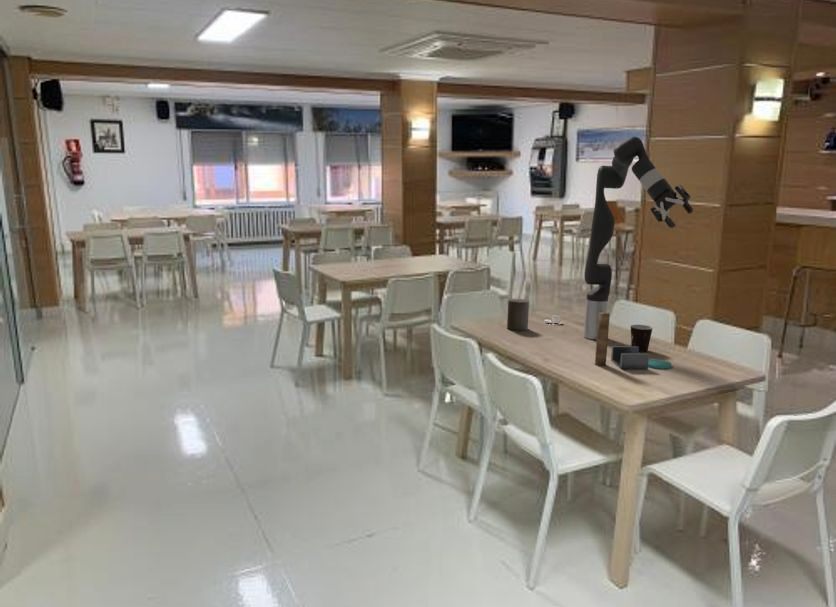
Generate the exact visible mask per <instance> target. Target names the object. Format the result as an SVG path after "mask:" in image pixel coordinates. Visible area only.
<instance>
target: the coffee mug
mask: <svg viewBox="0 0 836 607" xmlns="http://www.w3.org/2000/svg"><path fill="white" fill-rule="evenodd" d="M652 332H653V326H650V325H647V324H631V325H630V346H638V347H639V352H638V353H647V351H649V347H650V342H651V338H652V334H653V333H652Z"/></svg>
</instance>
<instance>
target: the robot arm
mask: <svg viewBox="0 0 836 607" xmlns="http://www.w3.org/2000/svg"><path fill="white" fill-rule="evenodd" d="M613 154H614V156H613V158H612V161H611V165H600V166H599V167H598V170H597V174H596V183H595V184H596V185H595V186H596V187H595V202H594V208H593V215H592V221H591V229H590V230H591V231H590V239H589V248H588V252H587V256H586V257H587V258H586V263H585V268H584V275H583V277H584V282H585V283H586V284H587V285H589V286H590V285H593V286H594V285H596V286H597V285H598V286H597V287H596V288H594V289H593V290H591V291H588V292H587V294H586V303H585V318H584V329H583V337H584V338H585V339H588V340H593V339H595V340H596V341H597V330H598V317H599V313H600V312H605V313H608V306H609V297H610V294H611V284H612V279H613V278H612V277H613V272H612V271H613V269H612V267H611V265H610V264H608V263H598V260H599V258H600V255H601V253H602V251H603V250H604V249H605V247H606V246H607V245H608V243H609V242H610V241H611V239H612V237H613V236H614V231H615V230H614V229H615V222H616V220H615V219H616V218H615V216H614V214H613V212H612V209H611V208H610V207H609V204H608V203H607V199H606V196H605V189H612V190H613V189H615V190H616V189H621V188H622V187H623V186H624V185H625V181H626V180H627V175H628V172H629V168H630V166H631V165H632V166H631V172H632V173H633V175H635V177H636V178H637V180H638V181H639V183H640V184H641V186H642V187H643V189H644V190H645V192H646V194H648V195H649V196H650V198H651V199H652V200H653V201H654V202H655V205H654V206H652V207H651V208H650V211H651V213H652V214H653V216H654V217H655V219H656V220H657V222H658V223H660V222H665V223H666V225H667V227H669V228H671V229H673V228H676V227H677V226H676V223H675V222H674V221H673V220H672V218H671V217H670V215H669V213H670V210H671V209H672V208H673V206H675V205H677V204H680V205H682V208H684V210H685V211H686V212H687V214H689V215H690V214H692V213H693V210H694V208H693V207H692V205H691V204H690V203H689V200H690V199H691V196H690V194H689V193H688V192H687V191H686V189H685V188H684V187H683V186H682V185H681V184H680V185H675V186H674V188H672V186H671V184H670V183H669V181H667V179H666V178H665V177H664V176H663V174H662V173H661V172H660V171H659V170H658V169H657V167H655V165H654V164H653V162H652V161H651V160H650V158H649V155H648V154H647V150H646V149H645V145H644V143H643V141H642V140H641V139H640V137H637V136H631V137H629V138H627V139H626V140H624V141H623V142H621V143H619V144H618V145H616V146H615V147H614V149H613ZM636 157H638V160H636V162H635V163H634V164H632V163H633V161H634V159H635V158H636ZM677 194H678V195H679V197H678V196H677Z"/></svg>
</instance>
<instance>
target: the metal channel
mask: <svg viewBox="0 0 836 607" xmlns="http://www.w3.org/2000/svg"><path fill="white" fill-rule="evenodd" d="M649 359H650V354H649V353H640V352H639V347H638V346H631V345H612V346H611V356H610V361H611V362H612V363H613V364H614V365H615V366H616V367H618V369H620V370H621V371H622V370H623V371H625V370H627V371H628V370H629V371H632V370H634V371H638V370H639V371H647V370H649V367H648V361H649Z"/></svg>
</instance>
